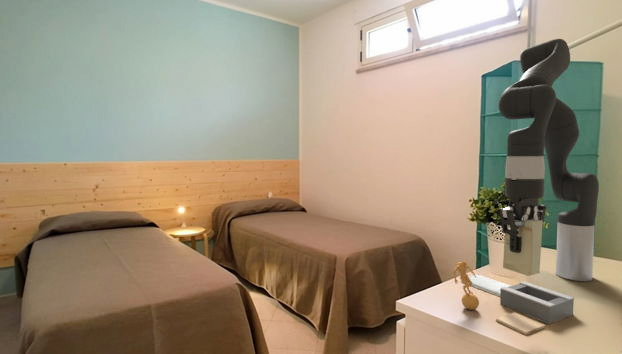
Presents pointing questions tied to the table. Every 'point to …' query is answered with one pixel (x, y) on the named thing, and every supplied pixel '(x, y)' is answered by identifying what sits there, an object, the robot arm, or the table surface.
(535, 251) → the skincare box
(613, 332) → the table surface
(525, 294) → the socket block
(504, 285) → the hard drive
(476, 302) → the figurine
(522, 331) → the cork coaster
